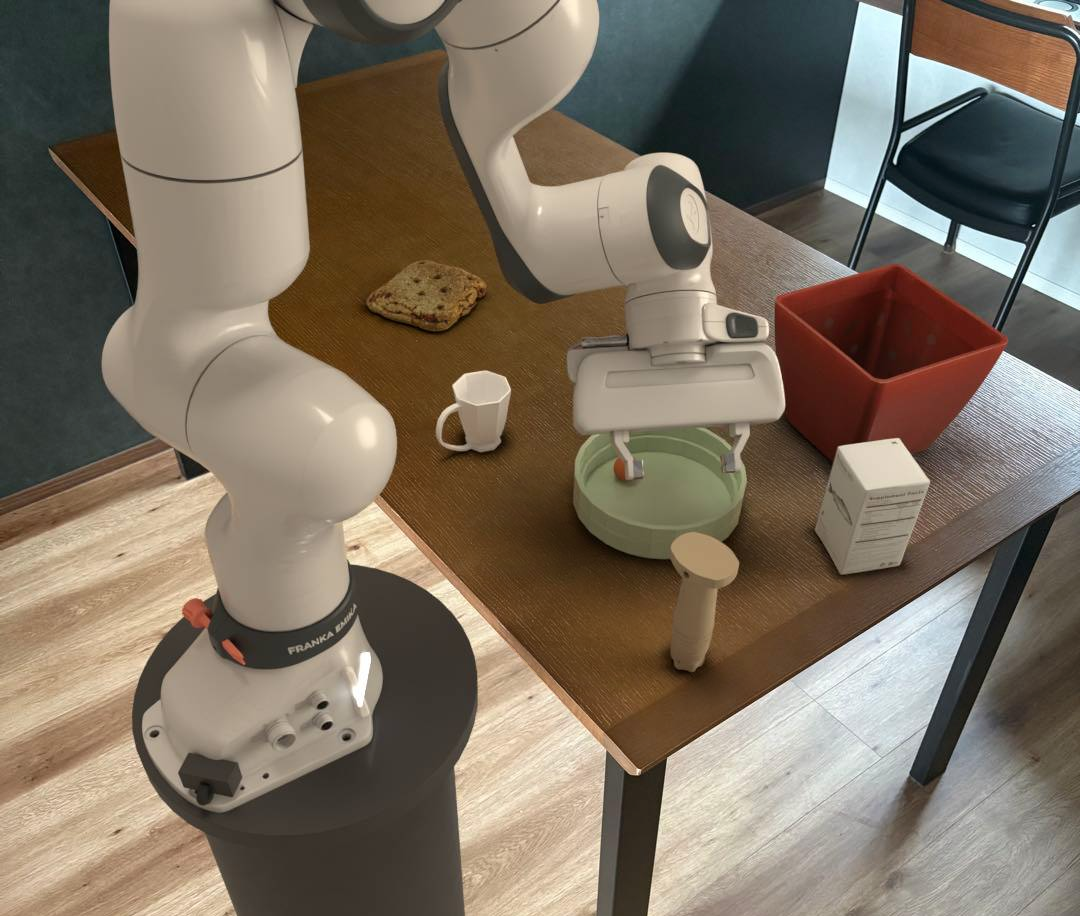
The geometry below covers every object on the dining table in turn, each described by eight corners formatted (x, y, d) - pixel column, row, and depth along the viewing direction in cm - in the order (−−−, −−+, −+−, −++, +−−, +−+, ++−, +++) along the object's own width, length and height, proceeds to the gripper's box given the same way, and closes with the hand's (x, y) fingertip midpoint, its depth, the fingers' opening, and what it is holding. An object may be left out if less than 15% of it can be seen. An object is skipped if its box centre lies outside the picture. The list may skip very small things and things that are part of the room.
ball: (625, 489, 125) (627, 470, 123) (607, 477, 127) (608, 457, 125) (643, 478, 127) (645, 458, 124) (625, 466, 128) (626, 446, 126)
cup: (523, 444, 132) (523, 390, 126) (456, 476, 127) (453, 422, 122) (489, 416, 136) (488, 362, 130) (422, 446, 131) (418, 392, 125)
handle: (678, 630, 111) (695, 524, 100) (726, 667, 107) (749, 561, 97) (646, 655, 108) (660, 549, 98) (694, 693, 105) (714, 587, 94)
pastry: (474, 264, 162) (474, 246, 160) (499, 327, 150) (499, 308, 148) (359, 277, 159) (357, 258, 157) (375, 342, 147) (373, 323, 145)
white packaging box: (812, 530, 122) (835, 443, 113) (873, 522, 123) (901, 435, 114) (838, 577, 116) (864, 490, 108) (902, 567, 118) (933, 480, 109)
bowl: (661, 589, 115) (665, 556, 111) (538, 498, 125) (539, 465, 121) (774, 507, 124) (781, 474, 121) (652, 429, 134) (655, 396, 131)
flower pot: (867, 373, 143) (899, 259, 132) (969, 456, 131) (1013, 339, 120) (748, 411, 137) (771, 296, 125) (844, 503, 125) (878, 384, 113)
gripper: (568, 331, 99) (580, 481, 99) (784, 319, 101) (796, 466, 101) (560, 344, 105) (571, 485, 105) (764, 333, 107) (774, 471, 107)
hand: (683, 476), depth 103 cm, fingers open, 8 cm apart
